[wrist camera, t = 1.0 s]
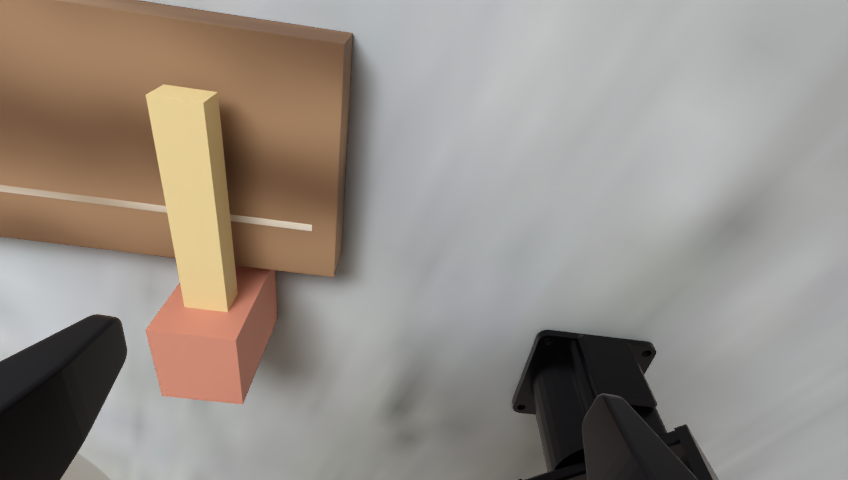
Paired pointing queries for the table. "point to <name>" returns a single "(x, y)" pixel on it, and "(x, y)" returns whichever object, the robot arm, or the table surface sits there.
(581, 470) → the robot arm
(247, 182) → the board
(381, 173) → the table surface
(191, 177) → the pink and yellow hammer
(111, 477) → the table surface
